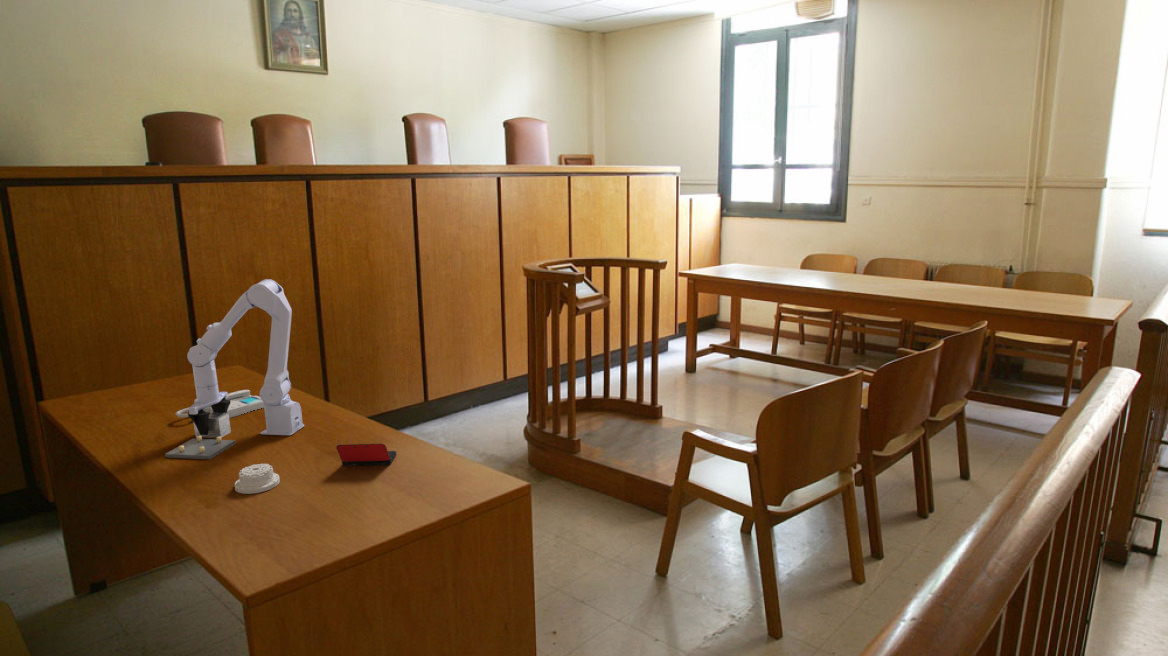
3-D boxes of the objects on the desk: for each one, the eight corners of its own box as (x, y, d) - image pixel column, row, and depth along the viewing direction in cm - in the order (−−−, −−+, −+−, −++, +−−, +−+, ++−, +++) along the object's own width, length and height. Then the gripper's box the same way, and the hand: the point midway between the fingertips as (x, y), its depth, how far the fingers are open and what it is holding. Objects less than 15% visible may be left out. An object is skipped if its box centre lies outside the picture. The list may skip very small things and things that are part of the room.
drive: (231, 432, 210) (228, 412, 208) (221, 438, 205) (218, 417, 204) (206, 431, 211) (203, 411, 210) (195, 437, 207) (192, 416, 205)
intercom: (168, 408, 219) (246, 387, 239) (170, 421, 220) (248, 399, 240) (189, 416, 212) (268, 394, 231) (191, 430, 213) (270, 406, 232)
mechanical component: (225, 493, 171) (263, 496, 169) (223, 476, 170) (261, 479, 168) (252, 475, 180) (288, 478, 178) (250, 459, 179) (286, 462, 177)
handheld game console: (397, 454, 192) (395, 428, 190) (387, 471, 182) (385, 444, 180) (350, 455, 192) (348, 429, 190) (337, 472, 181) (334, 444, 180)
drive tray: (235, 443, 201) (234, 435, 200) (210, 459, 190) (209, 450, 190) (193, 441, 203) (192, 433, 202) (165, 457, 192) (164, 448, 192)
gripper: (210, 377, 212) (216, 420, 215) (176, 392, 198) (183, 438, 201) (231, 377, 211) (237, 421, 214) (199, 393, 197) (206, 439, 200)
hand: (212, 429), depth 208 cm, fingers open, 7 cm apart
